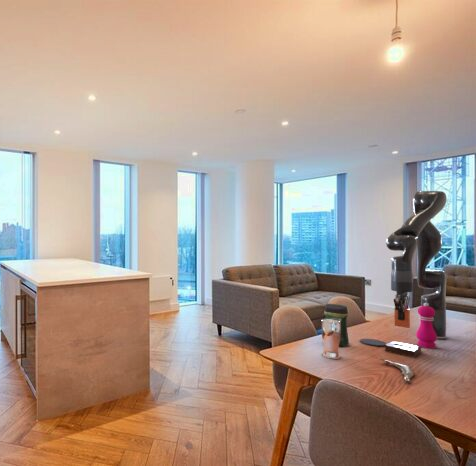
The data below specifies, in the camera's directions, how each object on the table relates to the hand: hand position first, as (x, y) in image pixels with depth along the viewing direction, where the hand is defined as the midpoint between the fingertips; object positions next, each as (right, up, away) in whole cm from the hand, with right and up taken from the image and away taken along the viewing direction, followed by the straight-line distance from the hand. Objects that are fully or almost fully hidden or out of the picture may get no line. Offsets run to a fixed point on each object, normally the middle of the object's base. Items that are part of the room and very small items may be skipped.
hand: (402, 319), depth 147 cm
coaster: (-5, -14, +11) cm, 18 cm away
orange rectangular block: (0, -3, 0) cm, 3 cm away
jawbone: (-22, -14, -23) cm, 35 cm away
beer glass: (-35, -14, -6) cm, 39 cm away
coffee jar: (-23, -14, +10) cm, 29 cm away
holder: (0, -14, 0) cm, 14 cm away
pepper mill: (+17, -14, +7) cm, 23 cm away
